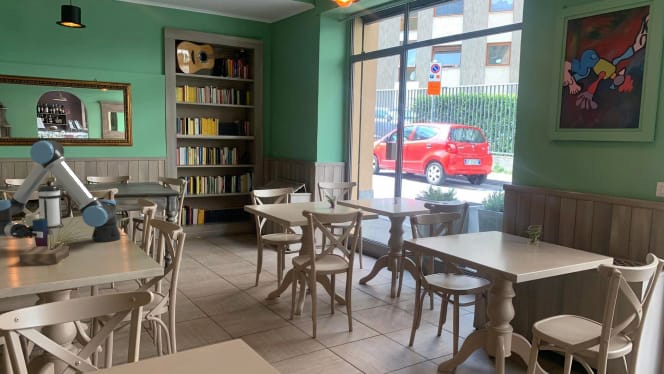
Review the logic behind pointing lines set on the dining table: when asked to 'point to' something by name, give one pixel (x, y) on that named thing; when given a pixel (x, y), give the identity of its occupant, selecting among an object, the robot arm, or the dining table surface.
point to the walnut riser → (43, 255)
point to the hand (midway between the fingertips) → (48, 233)
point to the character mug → (30, 219)
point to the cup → (41, 226)
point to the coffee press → (52, 204)
